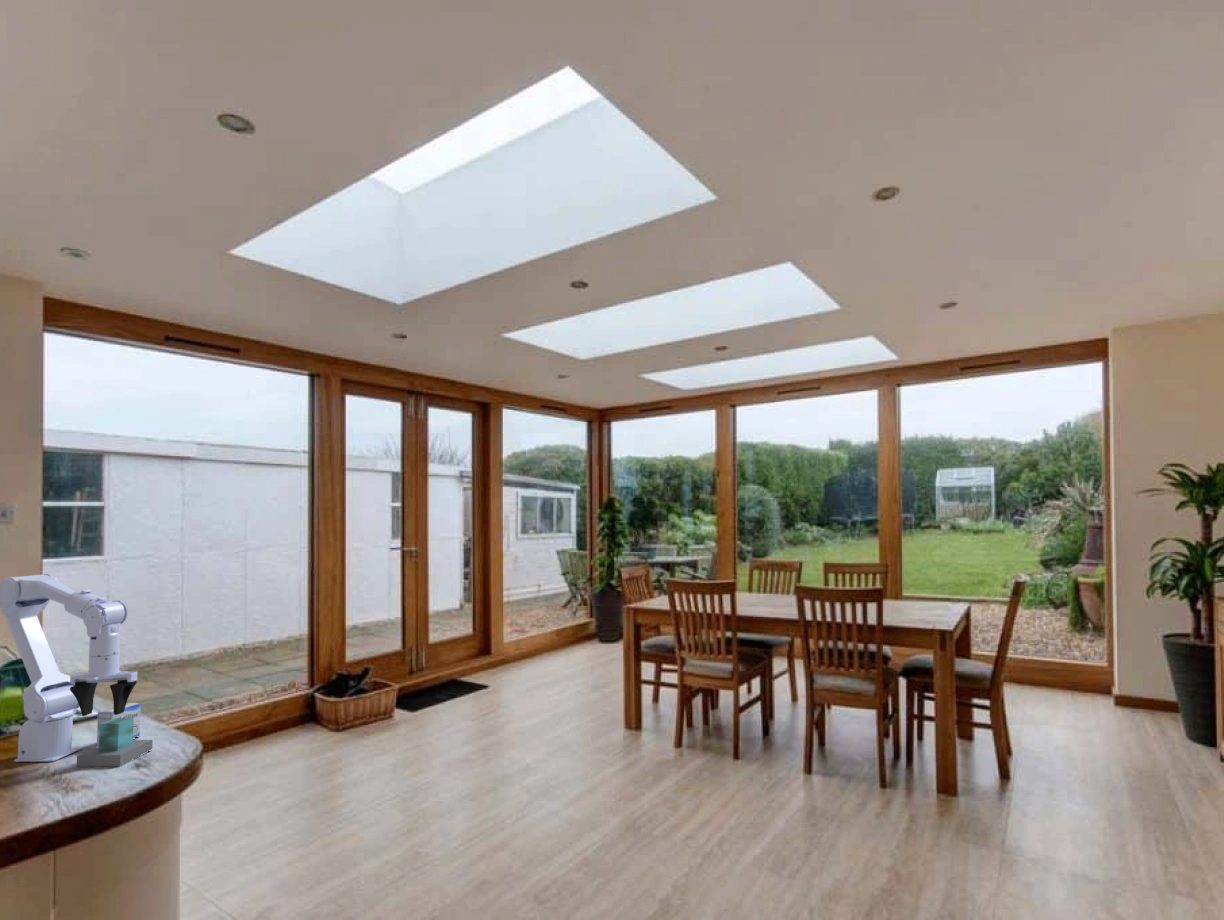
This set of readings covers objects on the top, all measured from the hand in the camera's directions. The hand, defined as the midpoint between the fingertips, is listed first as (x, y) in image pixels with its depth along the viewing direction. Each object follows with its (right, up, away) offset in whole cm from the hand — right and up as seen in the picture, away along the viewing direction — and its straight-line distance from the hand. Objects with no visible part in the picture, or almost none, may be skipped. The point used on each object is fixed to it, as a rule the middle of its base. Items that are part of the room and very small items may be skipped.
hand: (103, 714), depth 152 cm
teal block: (+3, -8, 0) cm, 8 cm away
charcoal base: (+3, -10, 0) cm, 11 cm away
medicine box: (-5, -12, +11) cm, 17 cm away
